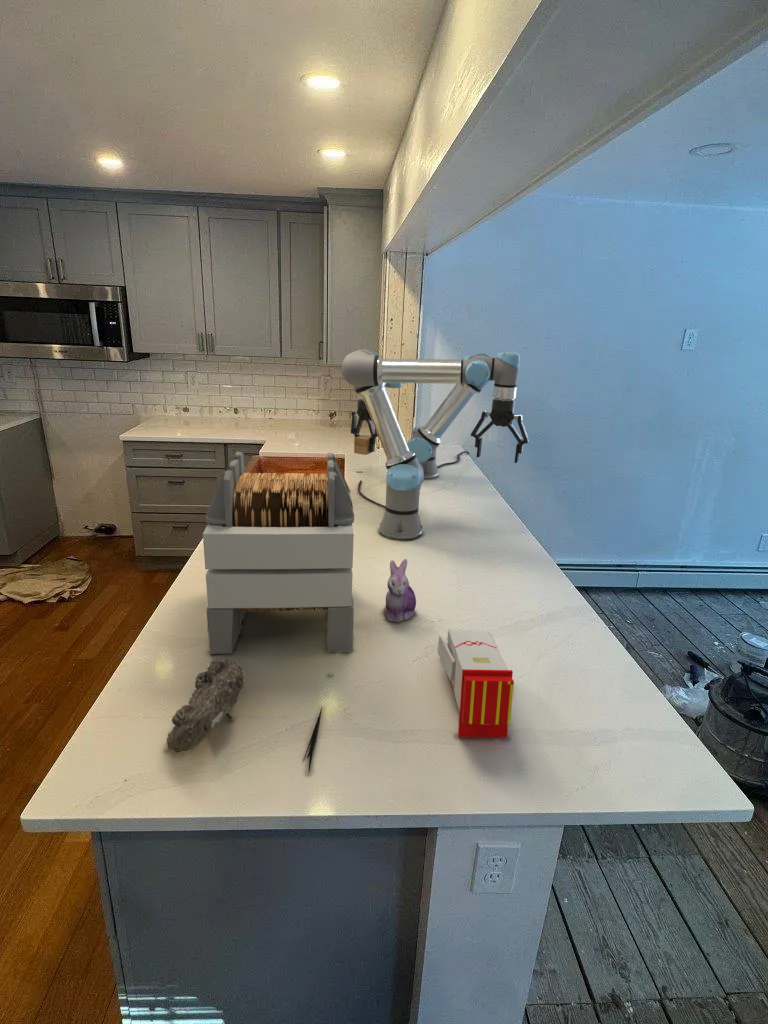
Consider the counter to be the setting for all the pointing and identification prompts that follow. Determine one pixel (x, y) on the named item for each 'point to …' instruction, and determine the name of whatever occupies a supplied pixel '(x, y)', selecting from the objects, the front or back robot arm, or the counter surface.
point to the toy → (478, 682)
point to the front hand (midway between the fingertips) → (497, 459)
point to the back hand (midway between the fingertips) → (364, 450)
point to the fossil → (206, 705)
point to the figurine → (399, 594)
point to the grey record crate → (279, 550)
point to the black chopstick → (313, 740)
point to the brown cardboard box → (362, 444)
